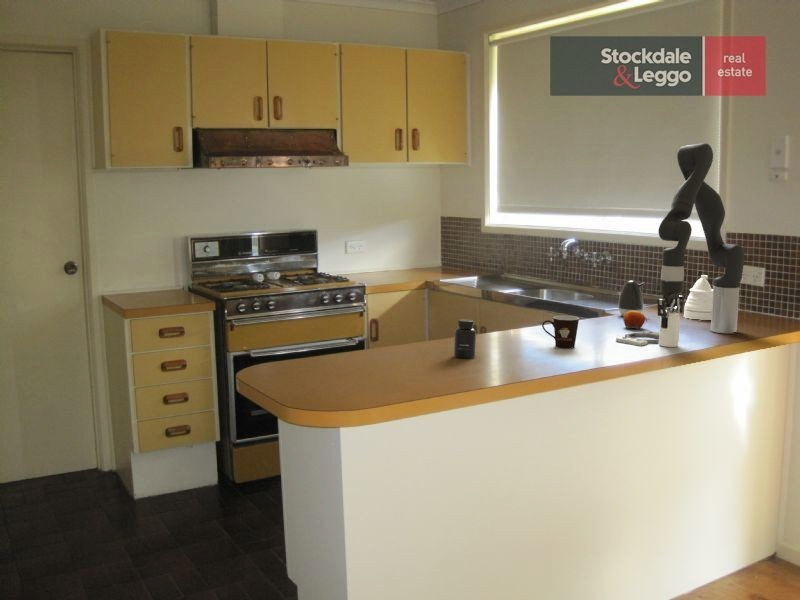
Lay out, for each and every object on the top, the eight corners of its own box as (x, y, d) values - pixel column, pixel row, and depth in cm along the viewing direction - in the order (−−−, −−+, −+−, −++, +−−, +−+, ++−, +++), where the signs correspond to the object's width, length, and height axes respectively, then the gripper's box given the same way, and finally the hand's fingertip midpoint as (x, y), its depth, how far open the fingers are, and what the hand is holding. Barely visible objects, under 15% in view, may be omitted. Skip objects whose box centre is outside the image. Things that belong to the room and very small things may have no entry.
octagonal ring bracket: (644, 333, 314) (645, 329, 314) (676, 338, 305) (677, 334, 305) (612, 340, 300) (612, 336, 300) (644, 346, 290) (645, 342, 290)
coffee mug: (582, 346, 289) (583, 318, 288) (569, 350, 283) (570, 321, 282) (553, 341, 297) (554, 313, 296) (540, 345, 291) (541, 316, 290)
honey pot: (721, 320, 343) (724, 276, 340) (689, 320, 343) (692, 276, 340) (710, 315, 355) (712, 273, 353) (679, 315, 356) (682, 272, 353)
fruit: (621, 326, 320) (623, 306, 323) (623, 333, 327) (625, 314, 330) (643, 327, 317) (645, 308, 320) (644, 335, 324) (646, 316, 327)
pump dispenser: (641, 319, 345) (643, 282, 343) (615, 317, 349) (617, 280, 347) (645, 315, 354) (647, 279, 352) (620, 313, 358) (621, 278, 356)
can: (679, 348, 288) (681, 313, 287) (659, 347, 290) (661, 312, 288) (677, 344, 295) (679, 310, 293) (657, 343, 296) (659, 309, 294)
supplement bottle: (461, 360, 267) (461, 322, 266) (450, 355, 273) (450, 319, 272) (479, 357, 270) (480, 321, 269) (468, 353, 276) (468, 317, 275)
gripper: (673, 276, 296) (670, 323, 299) (651, 279, 287) (648, 328, 289) (692, 278, 291) (689, 326, 293) (671, 281, 281) (668, 331, 284)
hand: (669, 326), depth 291 cm, fingers closed on can, 6 cm apart
